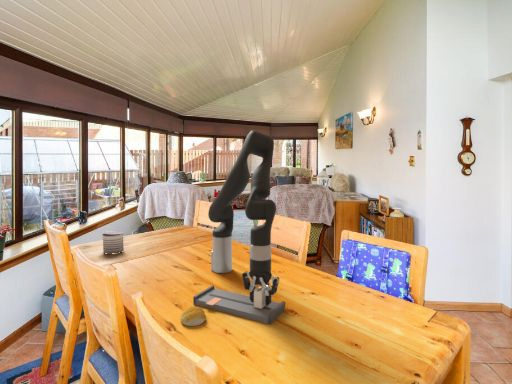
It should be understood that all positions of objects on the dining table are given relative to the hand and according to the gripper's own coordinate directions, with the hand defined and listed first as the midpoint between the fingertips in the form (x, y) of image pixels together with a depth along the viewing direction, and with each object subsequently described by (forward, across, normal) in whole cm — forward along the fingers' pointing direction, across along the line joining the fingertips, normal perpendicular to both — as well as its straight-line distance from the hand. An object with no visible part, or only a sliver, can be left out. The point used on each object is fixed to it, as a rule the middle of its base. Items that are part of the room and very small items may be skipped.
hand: (260, 302), depth 115 cm
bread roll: (+4, +17, +16) cm, 24 cm away
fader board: (+3, +9, 0) cm, 10 cm away
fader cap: (+1, 0, 0) cm, 1 cm away
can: (+4, +109, -26) cm, 112 cm away
